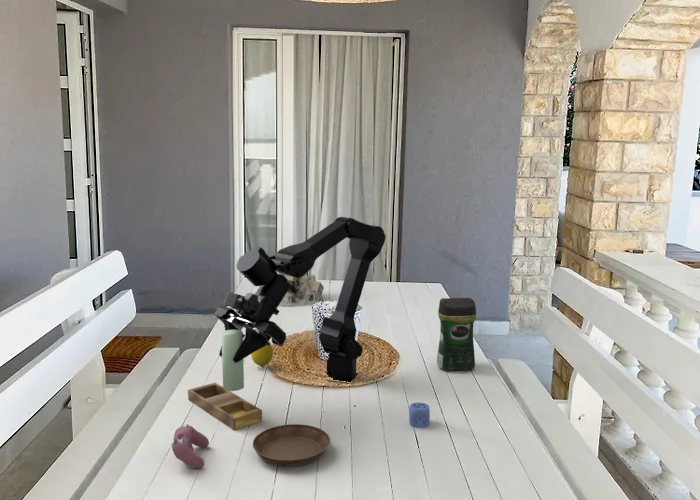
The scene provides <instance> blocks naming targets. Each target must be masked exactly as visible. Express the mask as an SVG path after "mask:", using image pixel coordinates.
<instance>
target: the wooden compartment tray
mask: <svg viewBox="0 0 700 500" xmlns="http://www.w3.org/2000/svg"><path fill="white" fill-rule="evenodd" d="M187 400H188V401H190V402H191V403H192V404H194V405H196V406H197V407H199V408H200V409H201V410H203V411H204V412H206V413H207V414H208V415H210V416H212V417H213V418H215V419H216V420H218V421H220V422H221V423H222V424H224V425H225V426H227V427H229V428H230V429H231V430H233V431H234V430H237V429H241V428H244V427H247V426H251V425H253V424H257V423H259V422H262V421H263V410H262V409H261V408H259V407H257V406H256V405H254V404H252V403H251V402H249V401H247V400H245V399H244V398H242V397H241V396H238V395H237V394H236V393H233V391H227V390H225V389H223V385H220V384H219V383H217V382H213V383H209V384H205V385H201V386H198V387H194V388H190V389H187Z"/></svg>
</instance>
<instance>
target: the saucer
mask: <svg viewBox="0 0 700 500" xmlns="http://www.w3.org/2000/svg"><path fill="white" fill-rule="evenodd" d="M330 443H331V438H330V435H329V434H328V432H326V431H325V430H323V429H322V428H318V427H317V426H313V425H308V424H298V423H296V424H295V423H293V424H292V423H291V424H282V425H277V426H273V427H269V428H267V429H264V430H263V431H260V433H258V434H257V435H256V436H255V437H254V438H253V441H252V448H253V450H254V451H255V453H256V454H257V455H258V456H259V457H261V458H262V459H263V460H264V461H266V462H267V463H269V464H272V465H274V466H279V467H286V468H287V467H298V466H304V465H308V464H310V463H312V462H314V461H315V460H317V459H319V457H321V456H322V455H323V454H324V452H326V450H327V449H328V447H329V446H330Z"/></svg>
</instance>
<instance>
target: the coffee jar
mask: <svg viewBox="0 0 700 500" xmlns="http://www.w3.org/2000/svg"><path fill="white" fill-rule="evenodd" d="M476 307H477V306H476V302H475V301H474V299H473V298H471V297H451V298H450V297H448V298H447V297H445V298H443V297H442V298H441V299H440V300H439V306H438V310H437V314H438V318H439V323H440V329H439V330H440V331H439V339H438V340H439V341H438V347H437V349H438V350H437V355H436V356H437V357H436V366H437V367H438V369H440V370H442V371H445V372H448V373H449V372H450V373H451V372H452V373H457V372H458V373H460V372H469V371H470V372H471V371H473V370H475V368H476V358H475V357H476V355H475V347H474V346H475V345H474V323H475V321H476V318H477V309H476Z"/></svg>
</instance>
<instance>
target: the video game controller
mask: <svg viewBox="0 0 700 500" xmlns="http://www.w3.org/2000/svg"><path fill="white" fill-rule="evenodd" d="M209 444H210V442H209V439H208V437H207V436H206V435H204V433H201V432H199V431H198V430H197V429H196V428H194V427H193V426H192V425H189V423H187V424H186V425H185V424H184V425H180V426H179V427H177V428H176V430H175V432H174V434H173V442H172V443H171V449H172V453H173V455H174V456H175V458H176V459H178V461H180V462H183V464H185V465H187V466H188V467H190V468H193V469H197V470H199V469H202V468H203V467H204V466H205V461H204V459H203V458H202V456H200V455H199V454H198V453H196V452H195V450H194V446H196V447H200V448H207V447H208V446H209Z"/></svg>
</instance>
